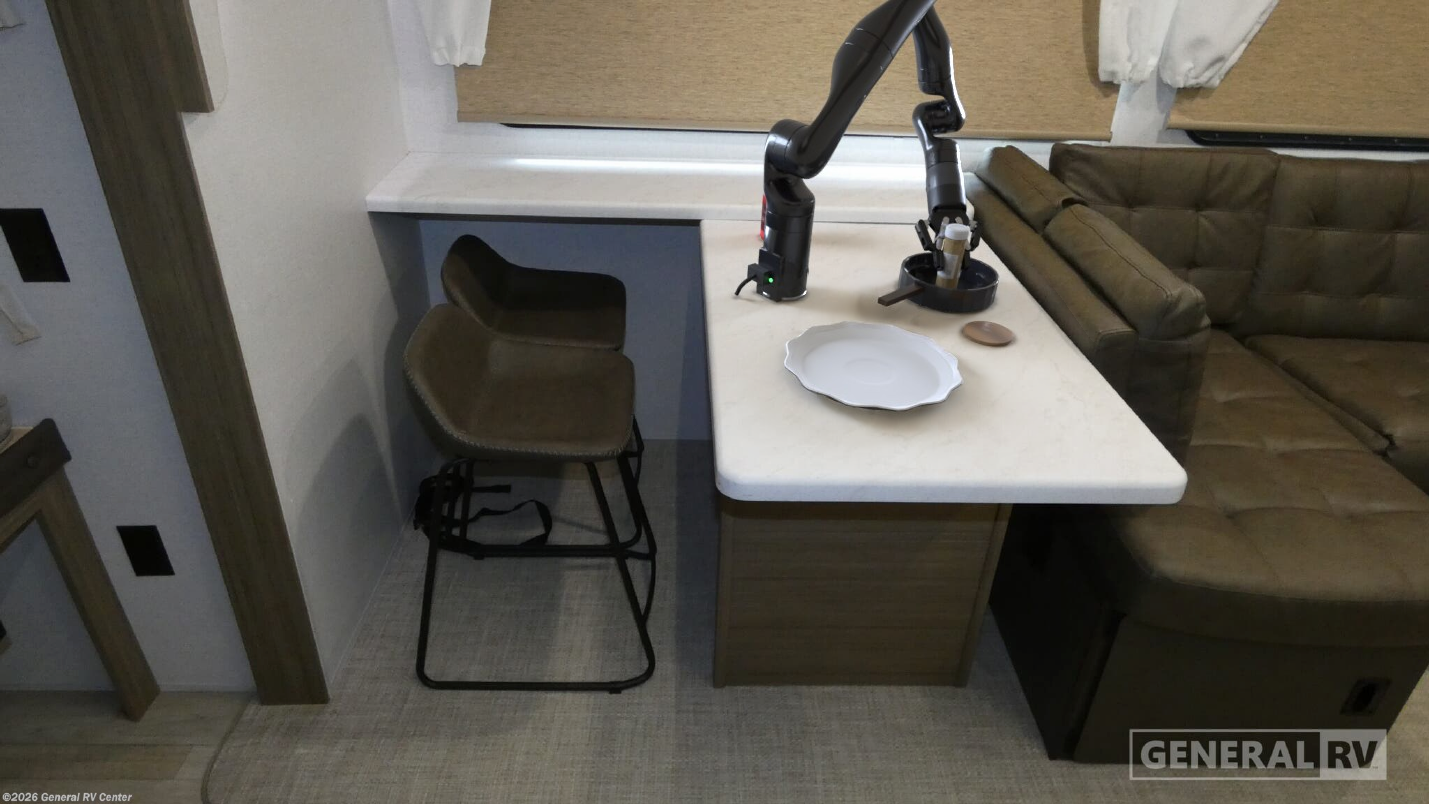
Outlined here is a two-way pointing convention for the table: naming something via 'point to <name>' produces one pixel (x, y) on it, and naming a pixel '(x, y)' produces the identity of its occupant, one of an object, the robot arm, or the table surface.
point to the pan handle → (900, 295)
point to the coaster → (988, 333)
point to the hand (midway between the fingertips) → (953, 269)
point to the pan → (968, 297)
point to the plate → (872, 366)
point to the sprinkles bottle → (952, 255)
